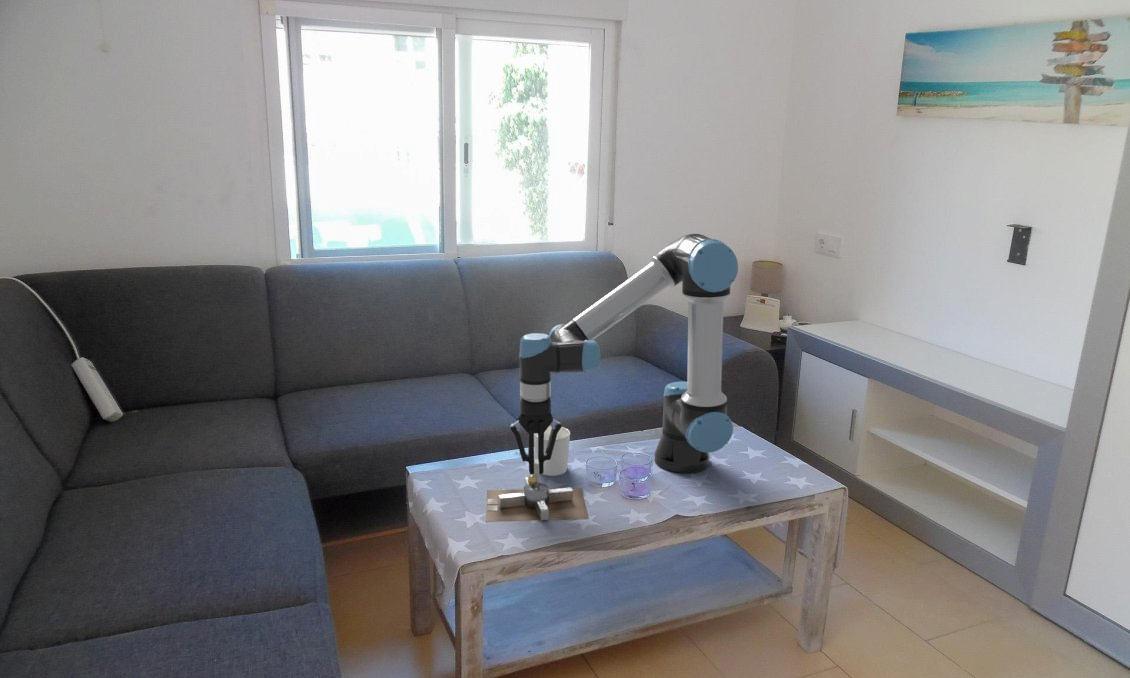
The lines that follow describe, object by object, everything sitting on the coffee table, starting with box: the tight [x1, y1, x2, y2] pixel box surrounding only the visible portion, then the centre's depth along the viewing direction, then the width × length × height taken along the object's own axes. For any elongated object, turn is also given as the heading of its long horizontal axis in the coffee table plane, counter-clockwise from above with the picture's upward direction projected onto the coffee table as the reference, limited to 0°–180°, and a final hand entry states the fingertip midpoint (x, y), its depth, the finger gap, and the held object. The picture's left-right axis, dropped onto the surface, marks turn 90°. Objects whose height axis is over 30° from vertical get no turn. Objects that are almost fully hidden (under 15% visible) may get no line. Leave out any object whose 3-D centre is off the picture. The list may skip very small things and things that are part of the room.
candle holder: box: [534, 425, 571, 477], centre depth 208 cm, size 10×10×12 cm
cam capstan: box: [499, 474, 573, 521], centre depth 188 cm, size 18×18×6 cm
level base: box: [485, 487, 590, 523], centre depth 189 cm, size 24×16×2 cm, turn 95°
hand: (536, 485), depth 196 cm, fingers closed
